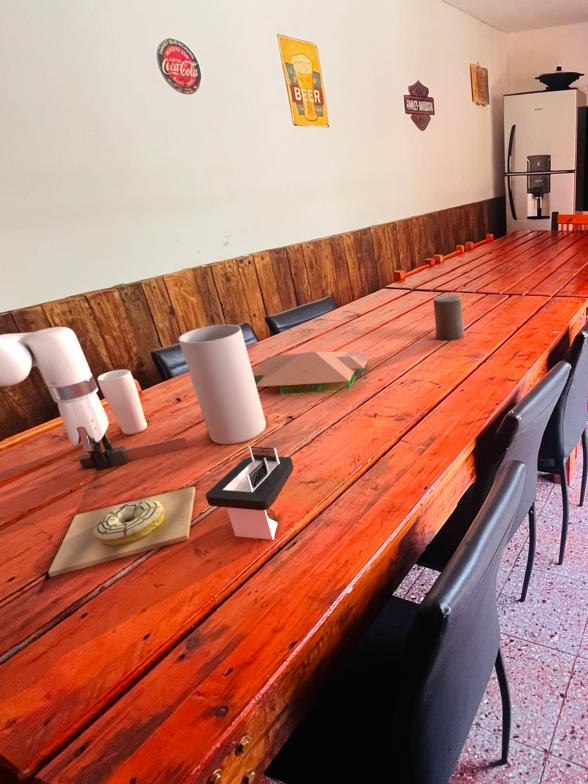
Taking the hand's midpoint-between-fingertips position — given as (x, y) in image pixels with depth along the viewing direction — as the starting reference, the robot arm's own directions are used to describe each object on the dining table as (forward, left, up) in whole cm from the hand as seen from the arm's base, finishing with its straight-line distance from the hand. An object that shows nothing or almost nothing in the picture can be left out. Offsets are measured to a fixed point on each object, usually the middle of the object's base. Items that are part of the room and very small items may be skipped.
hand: (106, 463), depth 112 cm
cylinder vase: (+27, +2, -1) cm, 27 cm away
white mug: (+3, +16, -1) cm, 16 cm away
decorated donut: (+10, -29, -1) cm, 30 cm away
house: (+47, +28, -1) cm, 55 cm away
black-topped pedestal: (+32, -37, -1) cm, 49 cm away
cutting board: (+9, -28, 0) cm, 29 cm away
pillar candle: (+96, +43, -1) cm, 105 cm away
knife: (+5, 0, 0) cm, 5 cm away
